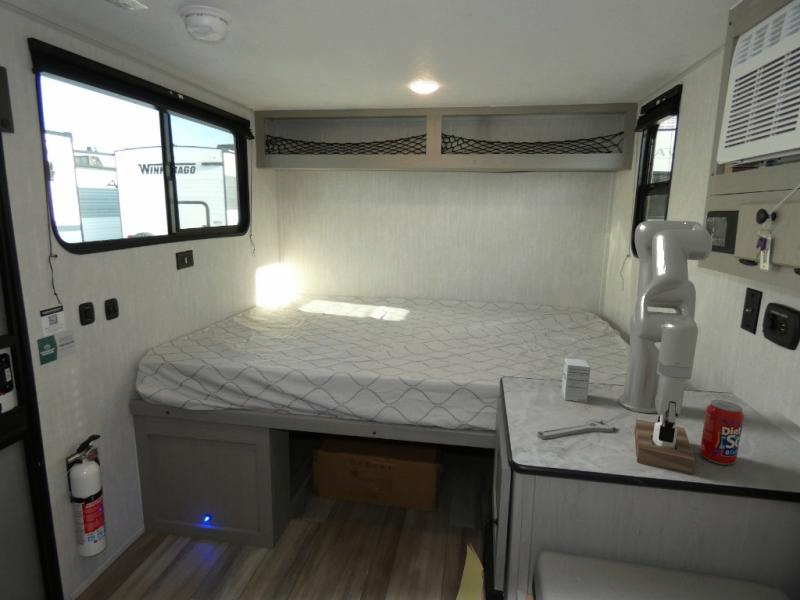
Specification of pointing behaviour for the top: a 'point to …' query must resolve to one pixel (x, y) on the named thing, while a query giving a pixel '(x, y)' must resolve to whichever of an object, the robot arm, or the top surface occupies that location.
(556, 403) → the top surface
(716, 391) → the top surface
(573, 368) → the supplement box
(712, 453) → the soda can
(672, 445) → the pepper shaker
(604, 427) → the adjustable wrench
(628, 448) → the top surface
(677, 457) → the socket block
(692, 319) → the robot arm
